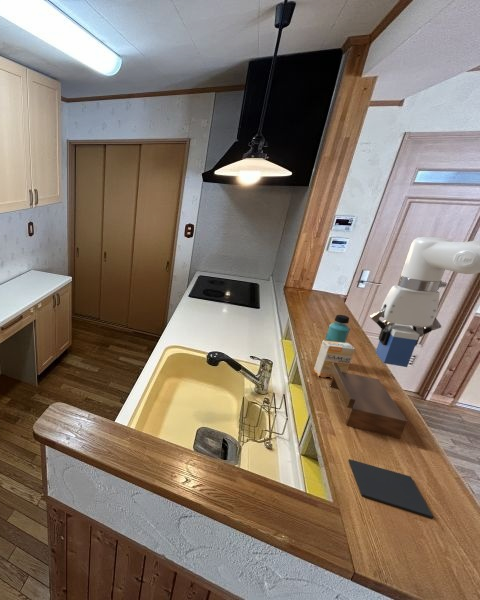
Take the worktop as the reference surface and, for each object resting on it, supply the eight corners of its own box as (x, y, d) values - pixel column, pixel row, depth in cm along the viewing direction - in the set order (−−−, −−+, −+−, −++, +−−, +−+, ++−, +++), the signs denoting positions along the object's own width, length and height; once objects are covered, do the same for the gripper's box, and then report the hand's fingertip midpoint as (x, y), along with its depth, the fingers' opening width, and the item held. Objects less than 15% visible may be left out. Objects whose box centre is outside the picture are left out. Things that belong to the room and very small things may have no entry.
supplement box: (318, 377, 117) (328, 345, 112) (313, 370, 121) (322, 339, 117) (344, 380, 115) (355, 348, 111) (338, 373, 120) (348, 342, 115)
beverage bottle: (337, 360, 128) (352, 314, 121) (340, 368, 123) (355, 320, 116) (317, 356, 131) (331, 311, 124) (319, 364, 126) (333, 317, 119)
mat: (409, 478, 77) (410, 476, 77) (432, 518, 68) (433, 516, 68) (348, 460, 82) (348, 458, 82) (361, 496, 73) (362, 494, 73)
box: (396, 355, 95) (408, 325, 92) (407, 367, 89) (419, 334, 86) (375, 352, 97) (385, 322, 94) (383, 363, 91) (395, 331, 88)
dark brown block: (372, 394, 108) (381, 371, 105) (399, 438, 89) (411, 412, 86) (325, 384, 113) (332, 362, 110) (341, 424, 95) (350, 398, 92)
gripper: (454, 284, 85) (429, 345, 91) (372, 277, 92) (354, 334, 98) (471, 292, 79) (443, 357, 85) (381, 284, 86) (362, 344, 92)
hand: (395, 344), depth 92 cm, fingers closed on box, 5 cm apart
